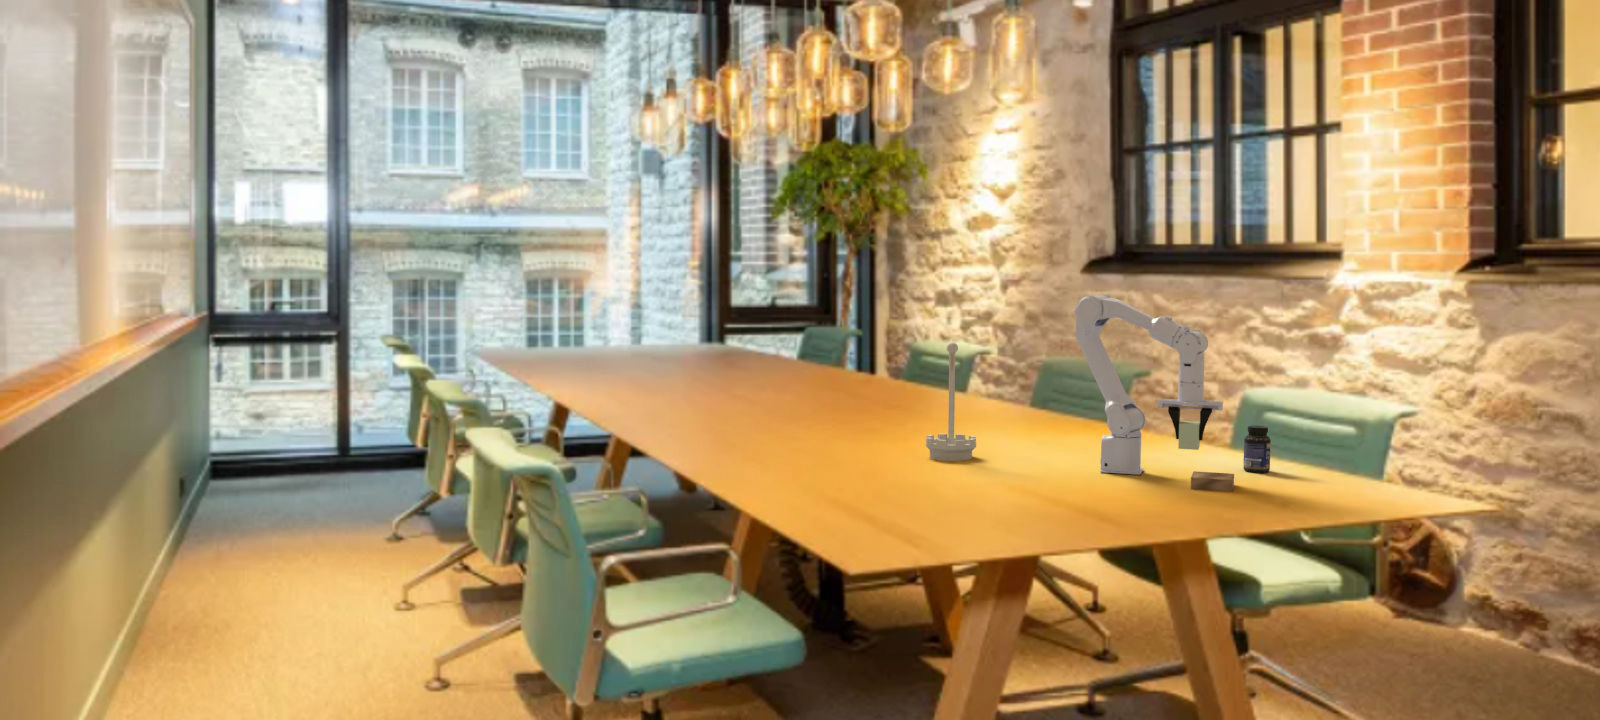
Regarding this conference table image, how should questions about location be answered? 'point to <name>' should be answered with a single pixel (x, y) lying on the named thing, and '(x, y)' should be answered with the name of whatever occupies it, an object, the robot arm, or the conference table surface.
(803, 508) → the conference table surface
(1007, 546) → the conference table surface
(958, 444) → the flag stand
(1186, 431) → the sage block
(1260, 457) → the pill bottle
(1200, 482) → the walnut box
